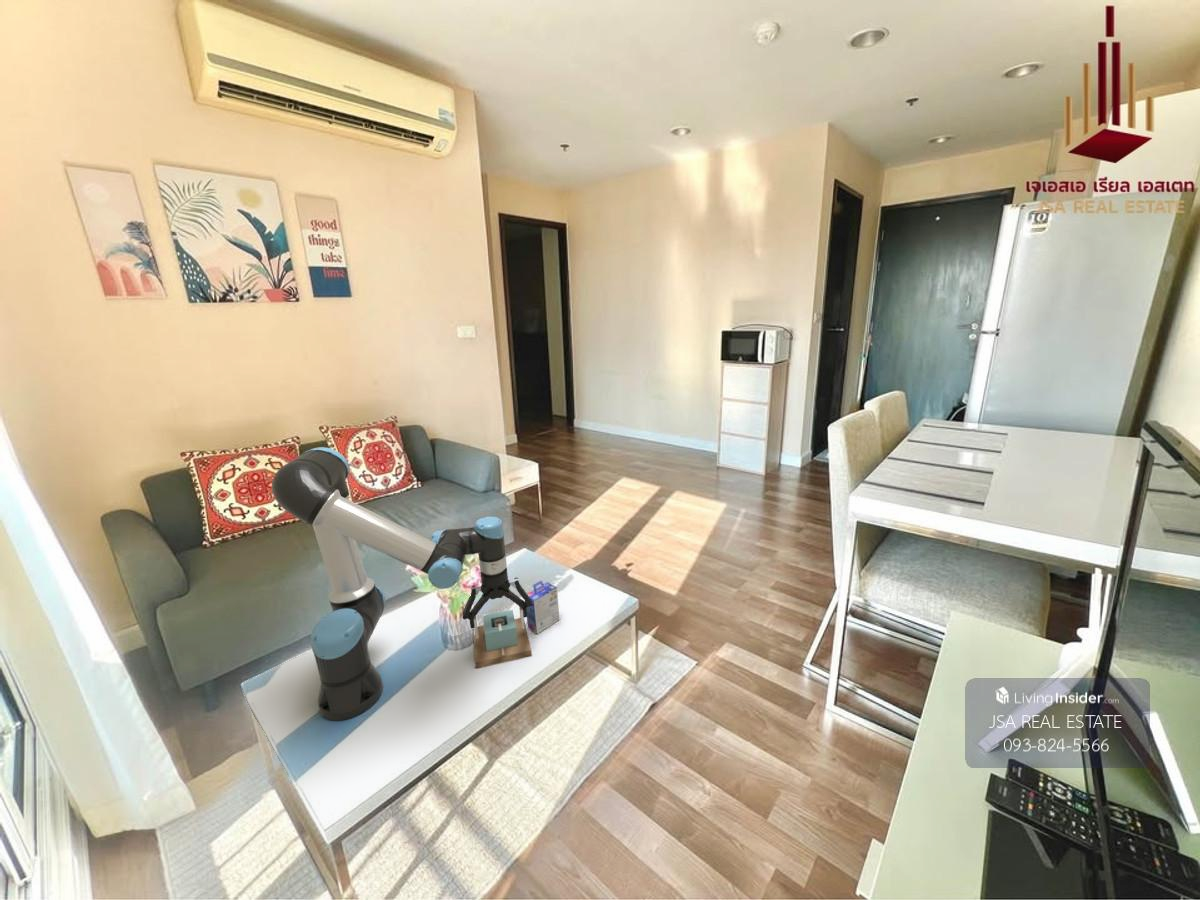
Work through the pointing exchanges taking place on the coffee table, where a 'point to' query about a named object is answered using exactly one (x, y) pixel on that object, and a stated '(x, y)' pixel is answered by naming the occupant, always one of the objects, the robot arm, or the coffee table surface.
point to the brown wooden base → (501, 654)
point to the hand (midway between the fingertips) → (500, 630)
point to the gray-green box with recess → (500, 631)
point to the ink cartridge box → (542, 607)
